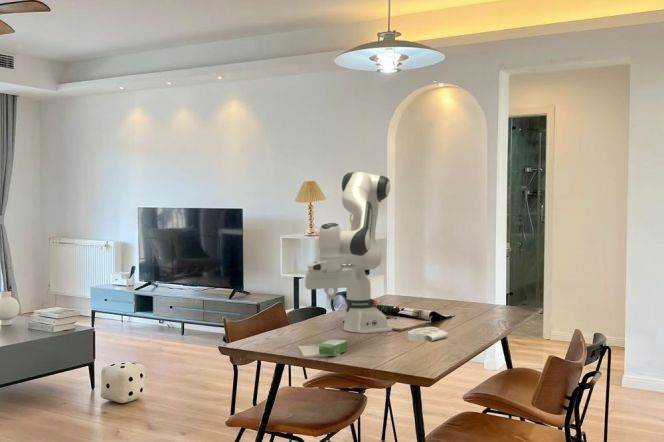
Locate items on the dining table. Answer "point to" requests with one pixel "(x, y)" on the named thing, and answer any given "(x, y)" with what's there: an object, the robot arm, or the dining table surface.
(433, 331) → the folded white cloth
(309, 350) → the mat
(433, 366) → the dining table surface
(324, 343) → the ink box
